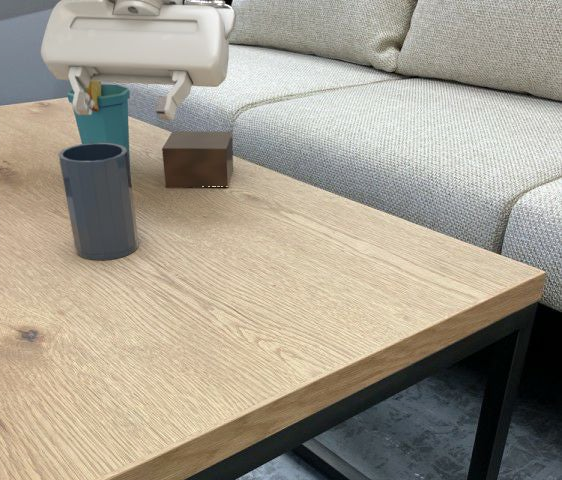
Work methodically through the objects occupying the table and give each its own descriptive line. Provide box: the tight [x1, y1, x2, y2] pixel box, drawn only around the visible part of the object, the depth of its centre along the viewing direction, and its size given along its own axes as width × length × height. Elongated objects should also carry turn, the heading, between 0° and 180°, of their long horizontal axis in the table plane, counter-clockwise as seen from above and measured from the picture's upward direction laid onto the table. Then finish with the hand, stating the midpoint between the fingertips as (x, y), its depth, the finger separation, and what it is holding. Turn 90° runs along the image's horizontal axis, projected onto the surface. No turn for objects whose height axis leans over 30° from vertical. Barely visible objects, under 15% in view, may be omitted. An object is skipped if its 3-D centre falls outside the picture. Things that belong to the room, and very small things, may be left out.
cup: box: [66, 81, 131, 170], centre depth 91 cm, size 14×8×15 cm, turn 17°
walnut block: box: [161, 130, 234, 188], centre depth 91 cm, size 8×8×5 cm
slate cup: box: [57, 143, 139, 261], centre depth 71 cm, size 6×6×10 cm
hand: (122, 114), depth 74 cm, fingers open, 8 cm apart
